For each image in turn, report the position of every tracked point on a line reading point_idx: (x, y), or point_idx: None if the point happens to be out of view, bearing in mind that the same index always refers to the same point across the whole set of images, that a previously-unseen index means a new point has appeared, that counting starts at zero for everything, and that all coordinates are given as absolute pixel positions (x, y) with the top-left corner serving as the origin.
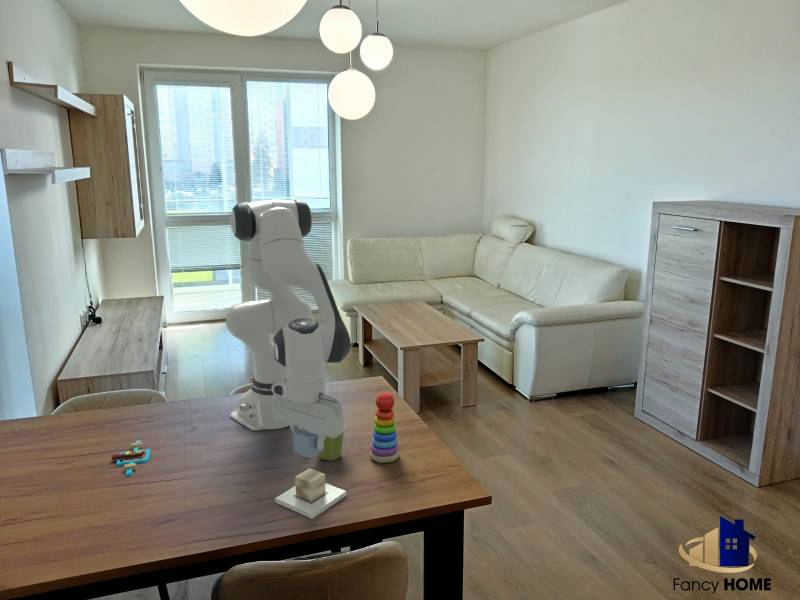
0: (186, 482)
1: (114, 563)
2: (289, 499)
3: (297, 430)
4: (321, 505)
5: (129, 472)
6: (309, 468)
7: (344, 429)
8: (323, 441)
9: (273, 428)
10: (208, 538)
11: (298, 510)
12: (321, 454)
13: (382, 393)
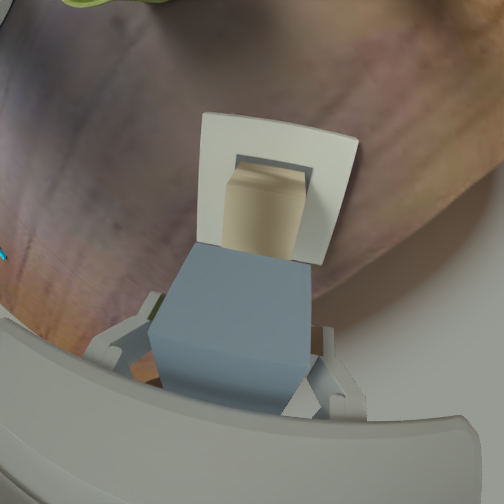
0: (42, 242)
1: (152, 374)
2: None
3: (164, 384)
4: (326, 229)
5: (2, 255)
6: (227, 186)
7: (477, 438)
8: (334, 353)
9: (2, 19)
10: None
11: None
12: (151, 1)
13: None
